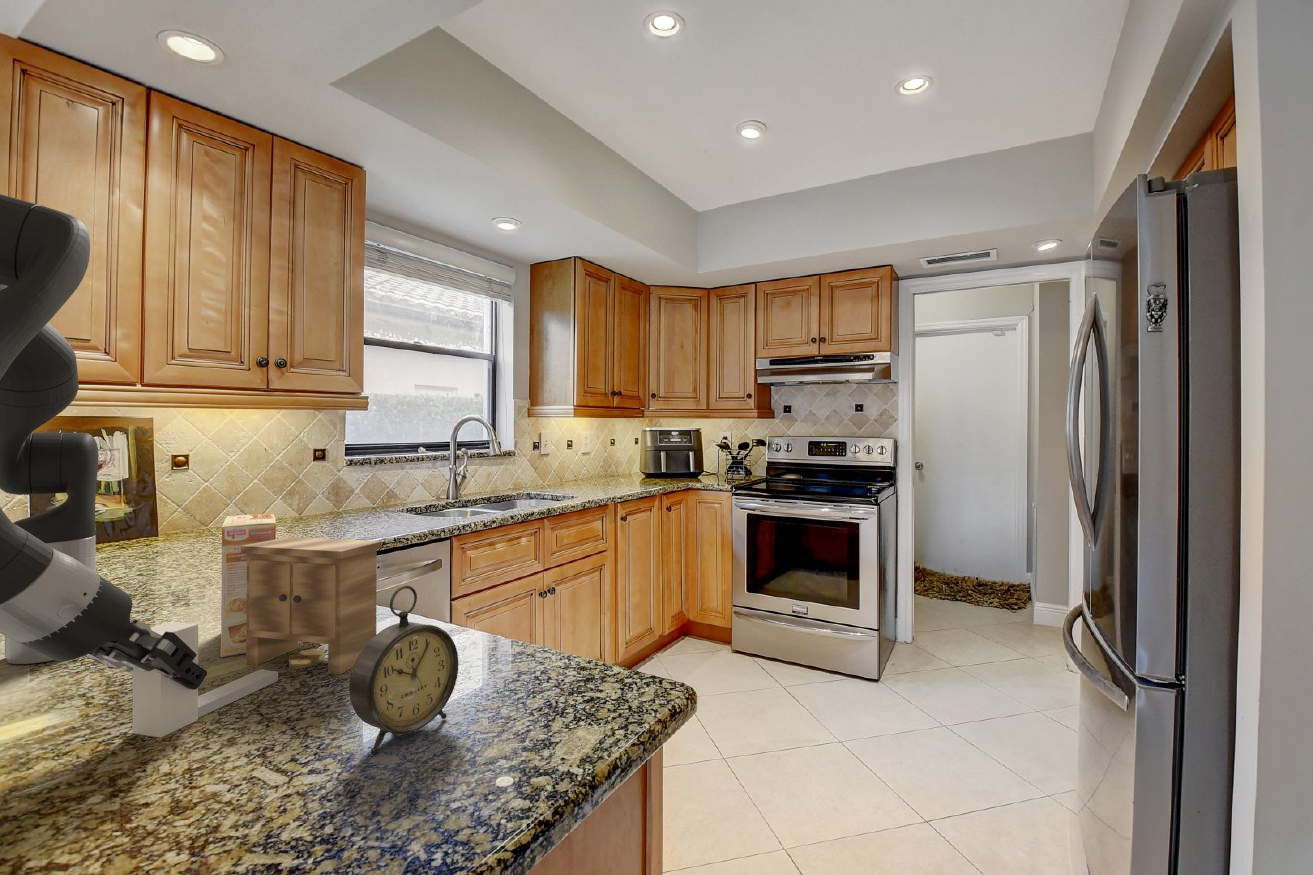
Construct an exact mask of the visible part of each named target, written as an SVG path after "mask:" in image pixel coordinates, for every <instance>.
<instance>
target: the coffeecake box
mask: <svg viewBox="0 0 1313 875" xmlns="http://www.w3.org/2000/svg"><path fill="white" fill-rule="evenodd" d="M276 521H277V520H276V516H275V513H256V514H237V515H227V516H226V517H225V518H224V521H223V523H222V526H221V602H220V603H221V604H220V605H221V606H220V607H221V608H220V620H221V621H220V655H219V656H220V658H225V657H231V656H236V655H243V654H246V649H247V553H241V546H243V545H248V544H254V543H259V542H264V541H269V540H275V539H277V522H276Z"/></svg>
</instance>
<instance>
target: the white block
mask: <svg viewBox="0 0 1313 875" xmlns="http://www.w3.org/2000/svg"><path fill="white" fill-rule="evenodd" d="M150 628H151V630H152V631H154V632H156V633H158V634H160V635H163V634H164V633H165V632H173V633H175V635H177V636H178V637H179V638H180V639H181V640H182V641H183V642H184V643H185V644H186V645H187V646H189V647H190V648H191V649H192V650H193V651H194V652H195V653H196V654H197V656H196V657H195V658H194V660H193V661H192V662H194V663H195V664H197V665H199V624H198V623H189V622H177V621H169V622H165V623H163V624H159V625H156V626H152V627H150ZM147 658H148V655H147V656H146V657H145V658H143V659H142V660H141V661H140V662H142V663H143V662H144V661H145V660H146V659H147ZM278 681H279V671H276V670H275V671H274V670H266V669H258V670H256V671H253V672H251V673H249V674H245V675H244V676H241V677H240V678H237V679H235V680H233V681H231V682H228V683H224V685H221V686H218V687H215V688H214V689H211V690H209V691H207V692H204V693H201V694H200V695H199V687H198V688H197V689H195V690H193V689H188V688H186V687H184V686H182V685H181V684H179V683H177V682H175V681H174V680H172V679H170V678H166V677H163V675H161V674H159V673H157V672H155V671H153V670H152V671H139V670H137V669H135V668H133V673H132V734H135V735H136V734H137V735H142V736H147V737H154V738H159V739H160V738H163V737H165V736H167V735H170V734H172V733H174V732H176V731H178V730H180V729H182V728H185V727H187V726H188V725H190V724H193V723H195V722H197V721H199V718H201V717H203V716H205V715H209V713H212V712H214V711H216V710H218V709H220V708H222V707H225V706H227V705H229V704H231V703H234V702H235V701H237V700H240V699H242V698H244V697H246V696H249V695H250V694H253V693H254V692H257V691H260V690H261V689H264V688H265V687H268V686H271V685H272V684H274V683H276V682H278Z"/></svg>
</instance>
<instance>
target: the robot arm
mask: <svg viewBox="0 0 1313 875" xmlns="http://www.w3.org/2000/svg"><path fill="white" fill-rule="evenodd" d="M90 255H91V239H90V234H89V230H88V228H87V227H86V225H85V224H84V222H83V221H81V220H80V219H79V218H78V217H75V216H74V215H71V214H69V213H66V212H63V211H59V210H57V209H54V208H50V207H47V206H44V205H39V204H37V203H34V202H30V201H25V200H23V199H19V198H15V197H12V196H8V195H4V194H2V193H0V490H1V491H2V492H4V493H6V494H10V495H20V496H26V495H27V496H28V495H29V496H30V495H51V494H52V495H53V494H55V495H56V494H67V498H66V500H64V502H62V503H61V504H59V505H57V506H56V507H53V508H52V509H50V510H47V511H45V512H41V513H40V514H35V515H32V516H29V517H25V518H22V519H20V520H19V519H18V520H15V521H13V522H12V521H11V519H10V518H9V517H8V516H7V514H6V513H5V511H4V510H3V509H2V507H1V506H0V634H1V635H3V636H4V658H6V663H9V664H13V665H29V664H30V665H31V664H38V663H44V662H50V661H57V662H70V661H74V660H77V659H80V658H82V657H86V658H87V659H89V660H92V661H94V662H97V663H99V664H100V665H103V666H105V667H107V669H111V670H113V669H114V670H118V669H122V670H123V671H124V672H125V673H127V674H129V673H131V674H133V668H135V669H137V670H139V671H152V670H153V671H155V672H157V673H159V674H161V675H163V677H166V678H170V679H172V680H174V681H175V682H177V683H179V684H181V685H182V686H184V687H186V688H188V689H193V690H195V689H197V688H198V689H199V687H200V685H201V684H202V683H203V681H204V680H205V679H206V677H207V676H208V670H207V669H205V668H204V667H202V666H200V665H199V664H198V665H197V664H195V663H194V662H192V661H193V660H194V658H195V657H196V656H197V654H196V653H195V652H194V651H193V650H192V649H191V648H190V647H189V646H187V645H186V644H185V643H184V642H183V641H182V640H181V639H180V638H179V637H178V636H177V635H175V633H173V632H165V633H164V634H163V635H160V634H158V633H156V632H154V631H152V630H151V628H152V627H151V626H150V625H148V624H146V623H145V622H143V621H140V620H138V619H132V620H131V613H132V609H133V599H132V597H131V596H130V594H129V593H127V592H126V591H124V589H121V588H120V587H118V586H116V585H115V584H113V583H112V582H111V581H109V580H108V579H106V578H104V577H103V576H101V575H100V574H99V573H97V572H96V571H97V570H96V568H97V566H96V565H97V560H96V559H97V558H96V557H97V555H96V554H97V553H96V543H97V541H96V540H97V536H96V534H97V532H96V531H97V528H96V497H97V496H96V495H97V482H98V472H99V471H98V470H99V447H98V442H97V441H96V439H95V438H94V436H93V435H91V434H89V433H85V432H34V431H36V430H37V429H39V428H40V427H42V426H44V424H45V425H46V423H48V422H49V421H51V420H53V418H55V417H57V416H58V415H60V414H61V413H62V412H64V410H65V409H67V408H68V407H69V406H70V405H71V403H72V402H73V401H74V400H75V398H76V397H77V394H78V391H79V389H80V388H79V387H80V386H79V376H78V374H79V373H78V364H77V363H78V362H77V355H76V354H75V351H74V349H73V346H72V345H71V344H70V342H69V341H68V340H67V338H65V336H63V334H61V332H60V331H58V329H57V328H55V327H54V326H53V325H52V324H51V323H50V321H51V320H52V319H53V317H54V316H55V315H56V314H57V313H58V311H60V309H61V308H62V307H63V306H64V305H65V303H67V301H68V300H69V299H70V298H71V297H72V296H73V295H74V293H75V292H76V291H77V289H78V288H79V286H80V284H81V283H82V281H83V279H84V278H85V275H86V272H87V269H88V267H89V263H90ZM147 655H148V658H147V659H146V660H145V661H144V662H143V663H142V662H140V661H141V660H142V659H143V658H145V657H146V656H147Z"/></svg>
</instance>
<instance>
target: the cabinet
mask: <svg viewBox="0 0 1313 875" xmlns="http://www.w3.org/2000/svg"><path fill="white" fill-rule="evenodd" d="M382 542H383V541H382V540H381V541H379V540H365V539H364V540H363V539H362V540H361V539H340V538H323V537H322V538H321V537H320V538H319V537H318V538H317V537H303V536H302V537H301V536H300V537H299V536H286V537H285V536H284V537H280V538H276V539H275V540H269V541H264V542H259V543H254V544H248V545H243V546H241V553H247V649H246V653H245V654H246V661H245V662H246V664H247V665H253V666H255V665H256V666H259V665H261V664H263V663H265V662H268V660H269V661H270V659H271V660H273V659H275V657H276V658H277V656H278V657H281V656H282V655H283V656H284V655H285V654H287V652H288V653H289V651H290V652H292V651H295V650H296V649H300V645H299V644H300V643H299V642H301V643H302V642H303V643H304V642H305V643H313V644H322V645H323V644H324V645H327V652H328V653H327V673H328V674H333V675H342V674H344V673H346V672H348V671H350V670H353V667H354V664H355V662H356V660H357V658H358V656H359V654H360V653H361V651H362V650H363V648H364V647H365V646H366V644H367V643H368V642H369V641H370V640H371V639H372V638H373V637H374V636H375V635H376V634H377V586H378V585H377V571H378V568H377V564H378V562H377V558H378V555H377V550H379V549H382V548H383V543H382Z"/></svg>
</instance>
